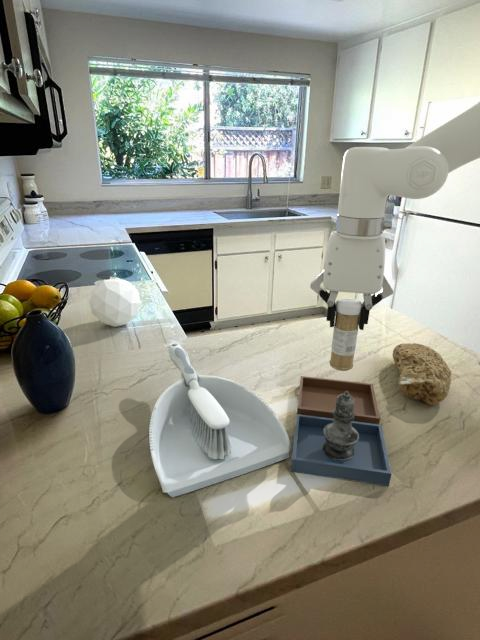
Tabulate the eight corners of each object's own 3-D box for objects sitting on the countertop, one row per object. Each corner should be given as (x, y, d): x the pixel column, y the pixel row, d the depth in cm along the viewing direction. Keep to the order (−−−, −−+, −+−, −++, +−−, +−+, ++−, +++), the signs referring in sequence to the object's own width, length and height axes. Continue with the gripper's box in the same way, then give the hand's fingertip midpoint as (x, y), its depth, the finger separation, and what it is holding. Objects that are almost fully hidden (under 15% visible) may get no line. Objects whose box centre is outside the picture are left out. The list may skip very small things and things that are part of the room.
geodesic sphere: (77, 318, 106) (106, 273, 105) (74, 301, 118) (100, 260, 117) (126, 342, 114) (154, 300, 113) (119, 323, 126) (144, 286, 125)
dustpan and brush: (163, 502, 59) (158, 451, 55) (121, 389, 86) (116, 350, 83) (296, 456, 68) (300, 409, 64) (220, 367, 95) (220, 331, 92)
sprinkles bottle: (346, 359, 81) (355, 296, 75) (357, 371, 76) (366, 304, 71) (325, 361, 80) (332, 297, 74) (334, 373, 76) (342, 306, 70)
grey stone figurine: (317, 439, 71) (324, 381, 67) (349, 438, 72) (358, 380, 67) (326, 463, 66) (334, 401, 61) (361, 461, 66) (371, 400, 62)
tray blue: (379, 435, 73) (381, 424, 72) (389, 486, 62) (391, 473, 61) (295, 424, 76) (296, 413, 75) (290, 471, 65) (291, 459, 64)
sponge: (449, 416, 81) (455, 357, 95) (448, 386, 77) (455, 330, 92) (381, 407, 88) (396, 353, 102) (378, 379, 84) (394, 327, 98)
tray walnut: (371, 393, 86) (373, 383, 85) (378, 429, 75) (380, 418, 74) (299, 385, 89) (300, 375, 88) (296, 419, 77) (297, 408, 77)
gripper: (407, 225, 70) (390, 322, 77) (308, 220, 72) (301, 314, 80) (416, 233, 63) (397, 338, 70) (307, 228, 66) (299, 329, 73)
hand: (346, 324), depth 75 cm, fingers closed on sprinkles bottle, 4 cm apart
